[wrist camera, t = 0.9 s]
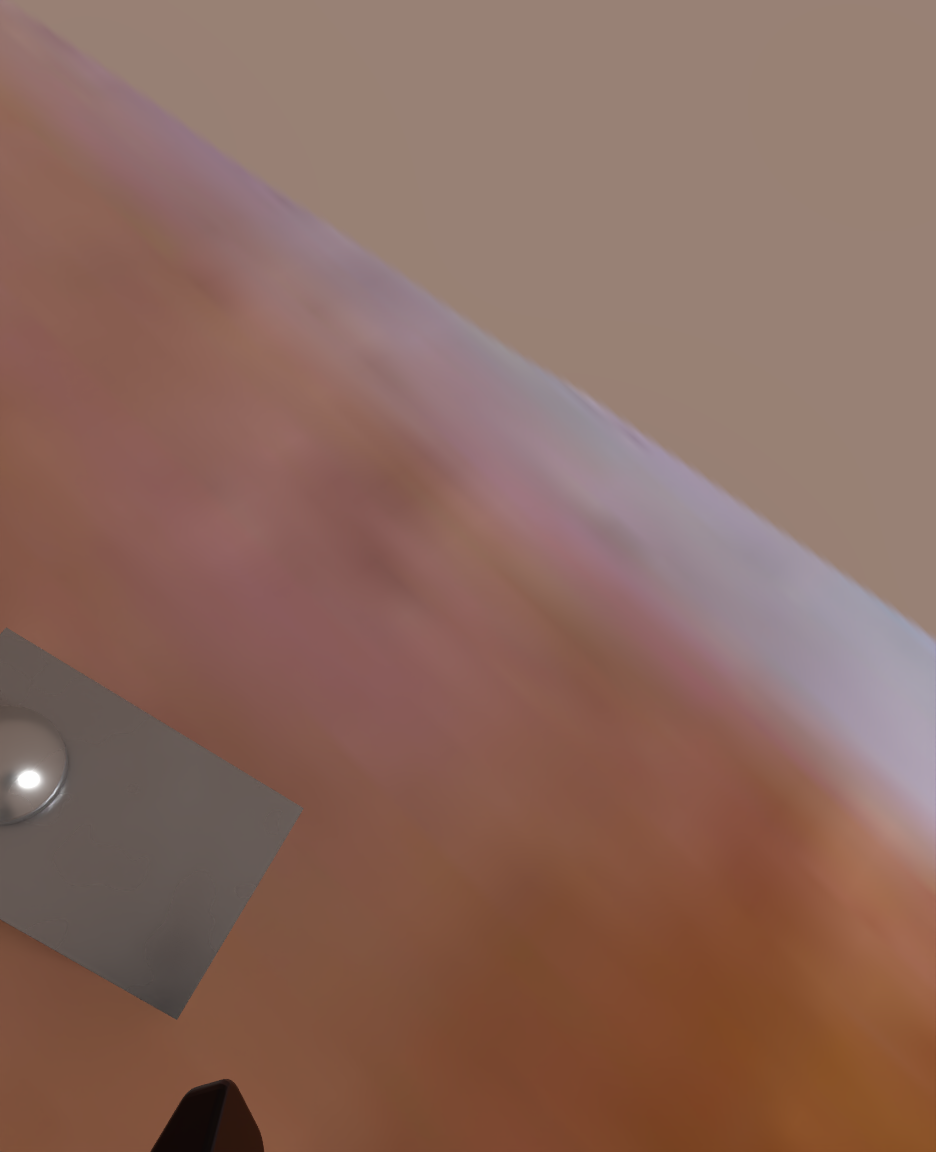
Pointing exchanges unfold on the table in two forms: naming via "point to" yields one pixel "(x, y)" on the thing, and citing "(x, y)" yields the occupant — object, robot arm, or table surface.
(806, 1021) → the table surface
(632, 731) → the table surface
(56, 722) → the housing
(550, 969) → the table surface
